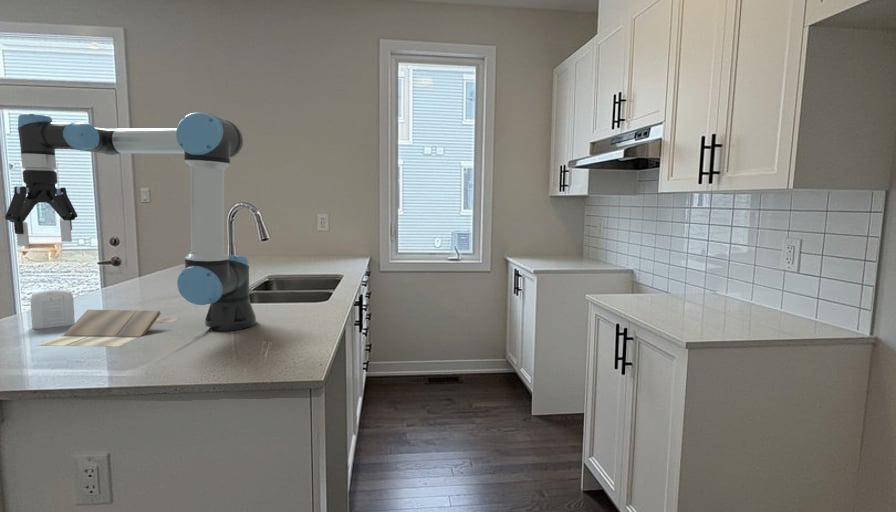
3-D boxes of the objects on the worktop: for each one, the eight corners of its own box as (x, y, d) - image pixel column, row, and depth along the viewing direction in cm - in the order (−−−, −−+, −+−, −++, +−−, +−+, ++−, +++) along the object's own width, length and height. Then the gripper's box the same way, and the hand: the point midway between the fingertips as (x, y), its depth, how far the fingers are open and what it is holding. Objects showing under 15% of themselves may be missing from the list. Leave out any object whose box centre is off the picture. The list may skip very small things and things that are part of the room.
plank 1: (160, 313, 147) (159, 310, 146) (141, 339, 138) (140, 336, 137) (89, 312, 147) (87, 309, 146) (65, 337, 138) (63, 334, 137)
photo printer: (76, 325, 152) (73, 287, 150) (74, 328, 148) (71, 289, 147) (33, 329, 146) (30, 290, 145) (31, 333, 143) (27, 292, 141)
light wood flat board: (139, 340, 137) (139, 336, 137) (118, 350, 128) (118, 346, 128) (63, 339, 137) (62, 335, 137) (36, 349, 128) (35, 344, 128)
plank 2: (180, 321, 158) (180, 318, 158) (172, 326, 153) (172, 322, 153) (116, 322, 157) (116, 318, 156) (106, 326, 151) (106, 322, 151)
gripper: (65, 172, 149) (71, 239, 152) (-19, 166, 125) (-10, 247, 127) (88, 172, 149) (93, 240, 151) (8, 167, 124) (16, 248, 127)
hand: (46, 243), depth 139 cm, fingers open, 13 cm apart
